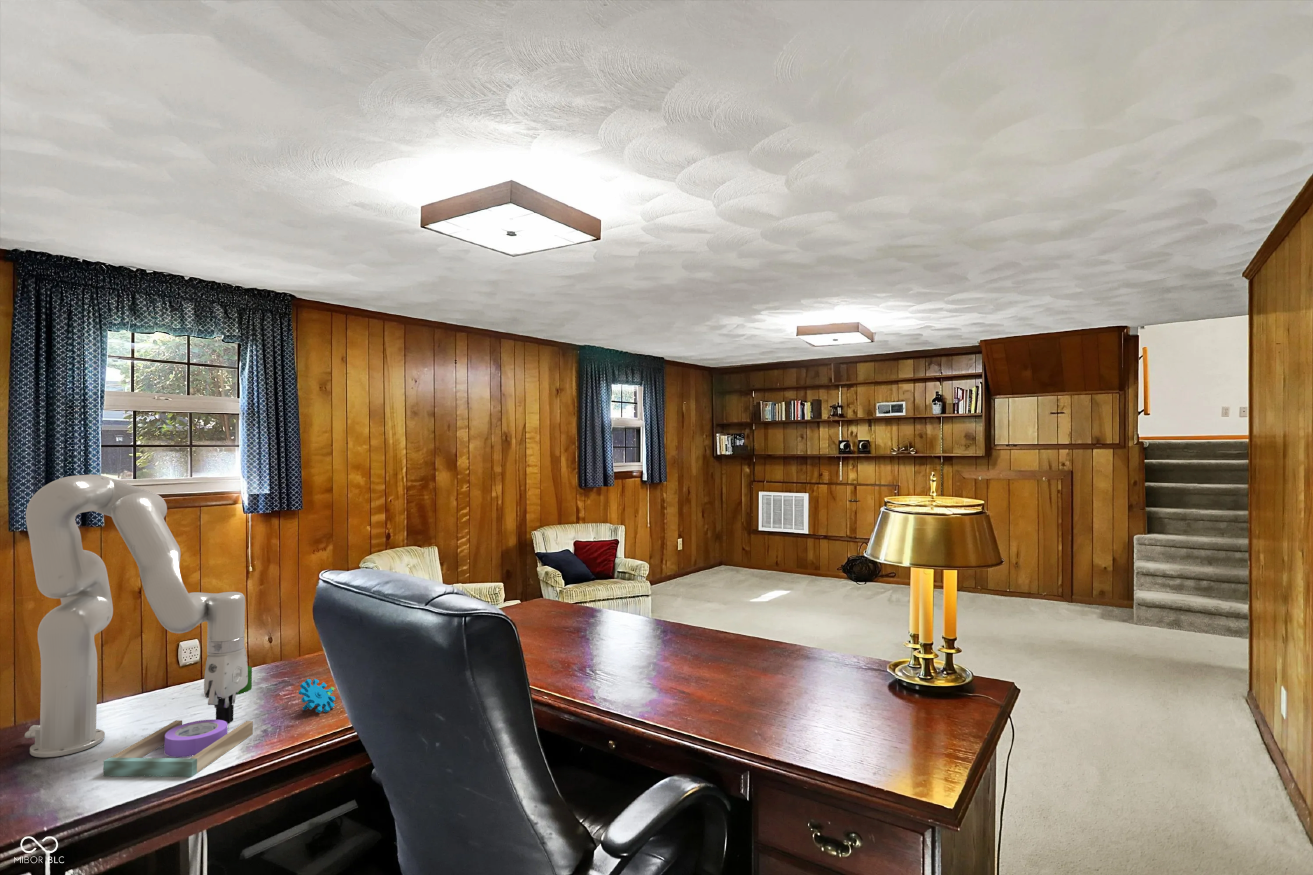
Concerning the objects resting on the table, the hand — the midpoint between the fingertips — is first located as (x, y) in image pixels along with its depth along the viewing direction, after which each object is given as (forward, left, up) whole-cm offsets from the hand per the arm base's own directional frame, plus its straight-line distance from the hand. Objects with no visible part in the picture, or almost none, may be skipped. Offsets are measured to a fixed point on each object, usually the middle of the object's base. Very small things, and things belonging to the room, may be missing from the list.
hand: (224, 722), depth 162 cm
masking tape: (0, -10, -2) cm, 10 cm away
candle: (-13, +24, -1) cm, 28 cm away
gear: (+17, +11, -1) cm, 20 cm away
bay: (0, -14, -1) cm, 14 cm away
